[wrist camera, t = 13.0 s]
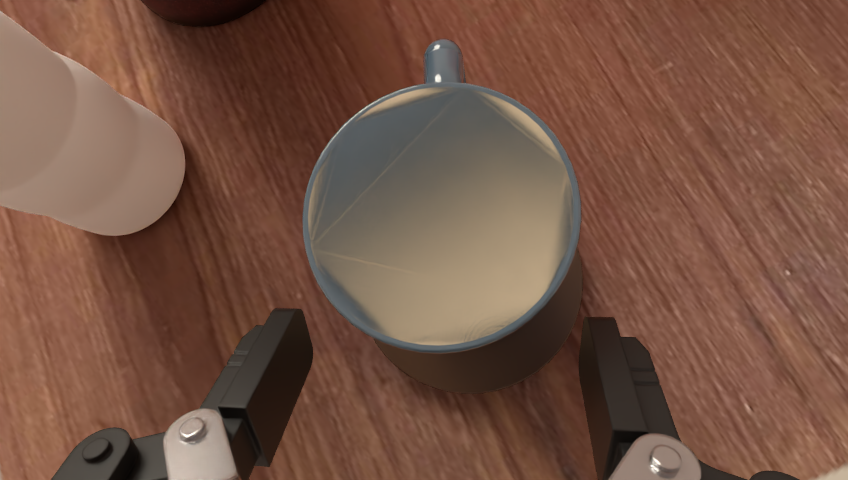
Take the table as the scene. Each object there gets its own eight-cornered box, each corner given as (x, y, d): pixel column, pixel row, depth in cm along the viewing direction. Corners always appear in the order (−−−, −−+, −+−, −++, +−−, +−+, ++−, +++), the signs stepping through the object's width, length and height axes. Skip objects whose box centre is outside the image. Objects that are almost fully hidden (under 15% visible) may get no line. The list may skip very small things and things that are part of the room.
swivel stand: (465, 439, 22) (462, 445, 20) (324, 278, 24) (314, 273, 23) (625, 283, 22) (634, 279, 21) (470, 140, 25) (469, 128, 23)
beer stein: (395, 351, 22) (295, 355, 11) (394, 151, 24) (309, -9, 13) (545, 349, 21) (595, 351, 10) (531, 141, 23) (561, -40, 12)
